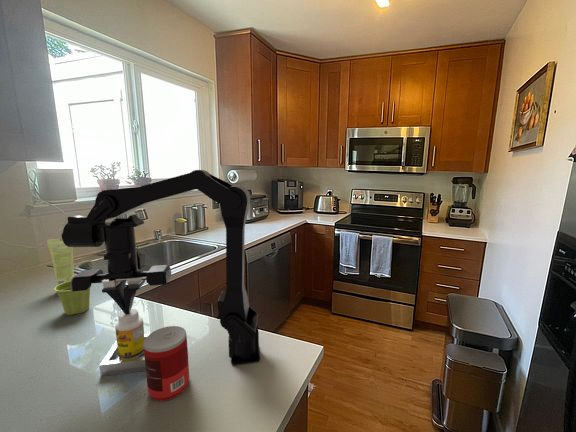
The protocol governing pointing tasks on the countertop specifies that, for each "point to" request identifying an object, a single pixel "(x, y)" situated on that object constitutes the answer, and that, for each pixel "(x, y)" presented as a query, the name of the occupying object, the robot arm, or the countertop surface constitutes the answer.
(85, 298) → the plant pot
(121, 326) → the supplement bottle
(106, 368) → the square metal tray
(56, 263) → the tube
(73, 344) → the countertop surface
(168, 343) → the canned food
